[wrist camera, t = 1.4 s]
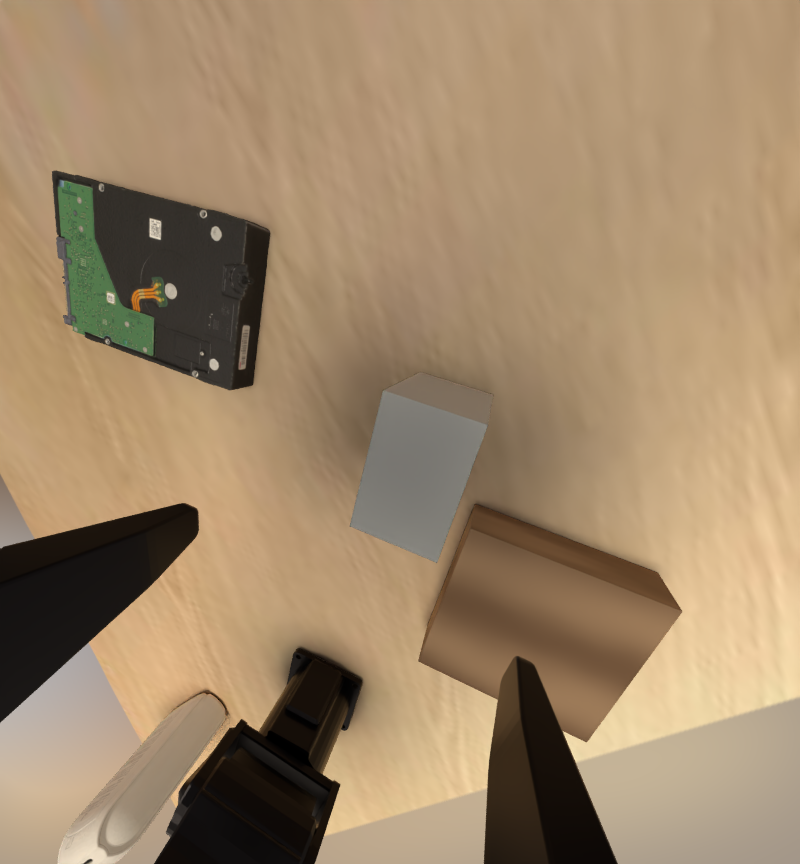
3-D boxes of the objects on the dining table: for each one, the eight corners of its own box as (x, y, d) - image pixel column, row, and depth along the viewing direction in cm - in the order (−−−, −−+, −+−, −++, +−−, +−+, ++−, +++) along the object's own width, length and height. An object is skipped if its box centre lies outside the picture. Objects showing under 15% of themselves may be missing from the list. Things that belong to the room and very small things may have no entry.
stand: (577, 694, 24) (586, 742, 21) (427, 625, 26) (418, 661, 23) (657, 572, 20) (682, 611, 17) (474, 503, 22) (470, 528, 19)
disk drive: (277, 228, 22) (93, 184, 24) (247, 214, 19) (45, 166, 22) (260, 386, 25) (101, 332, 28) (232, 393, 22) (59, 333, 25)
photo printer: (190, 739, 40) (66, 900, 29) (165, 712, 40) (31, 862, 29) (235, 714, 36) (112, 889, 25) (208, 684, 36) (72, 846, 25)
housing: (456, 496, 22) (436, 562, 16) (392, 471, 23) (349, 526, 17) (493, 394, 20) (488, 425, 14) (420, 371, 21) (383, 390, 14)
